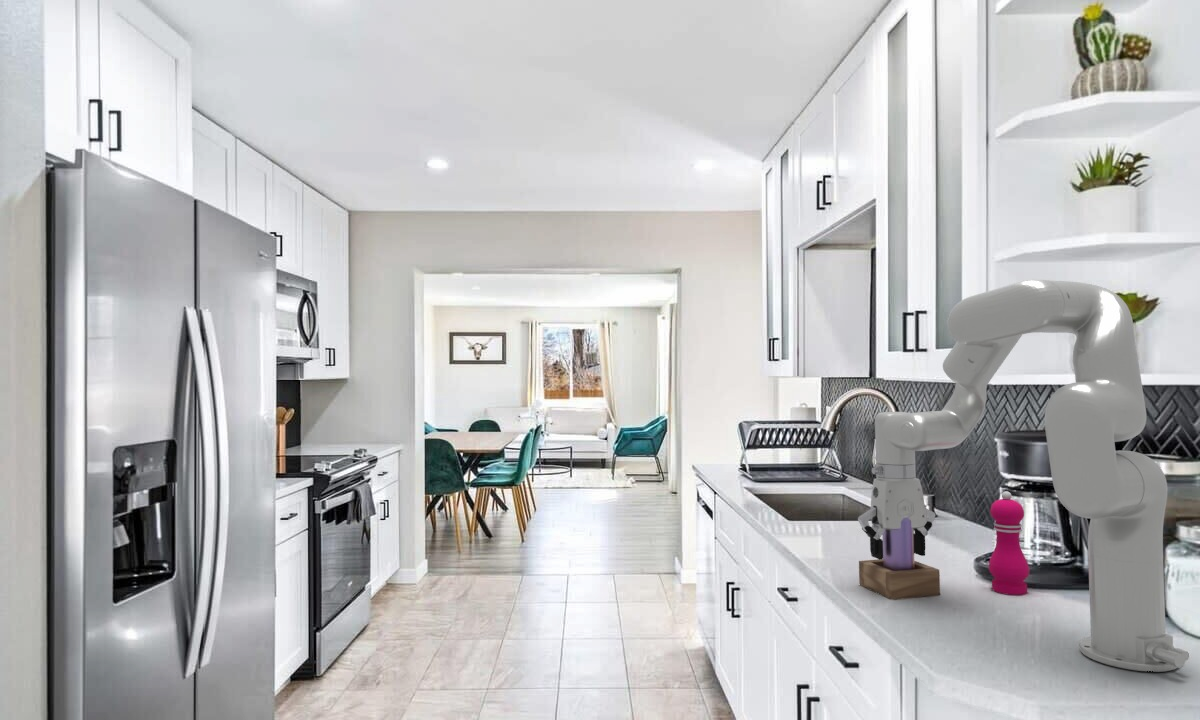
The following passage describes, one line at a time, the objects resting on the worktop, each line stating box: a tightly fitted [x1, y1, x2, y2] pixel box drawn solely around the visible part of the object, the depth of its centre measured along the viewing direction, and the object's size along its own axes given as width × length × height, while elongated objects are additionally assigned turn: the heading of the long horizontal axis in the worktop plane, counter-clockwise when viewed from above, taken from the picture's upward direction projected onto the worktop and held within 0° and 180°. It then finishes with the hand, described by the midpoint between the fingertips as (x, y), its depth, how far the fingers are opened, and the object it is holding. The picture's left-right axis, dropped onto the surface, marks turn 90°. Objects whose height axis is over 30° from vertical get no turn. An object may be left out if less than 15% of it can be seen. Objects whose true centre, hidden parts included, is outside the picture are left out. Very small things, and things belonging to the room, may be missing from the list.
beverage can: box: [881, 515, 915, 571], centre depth 155 cm, size 6×6×15 cm
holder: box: [858, 558, 941, 600], centre depth 155 cm, size 11×11×5 cm
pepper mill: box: [988, 491, 1030, 596], centre depth 153 cm, size 7×7×20 cm
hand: (898, 556), depth 155 cm, fingers open, 9 cm apart
